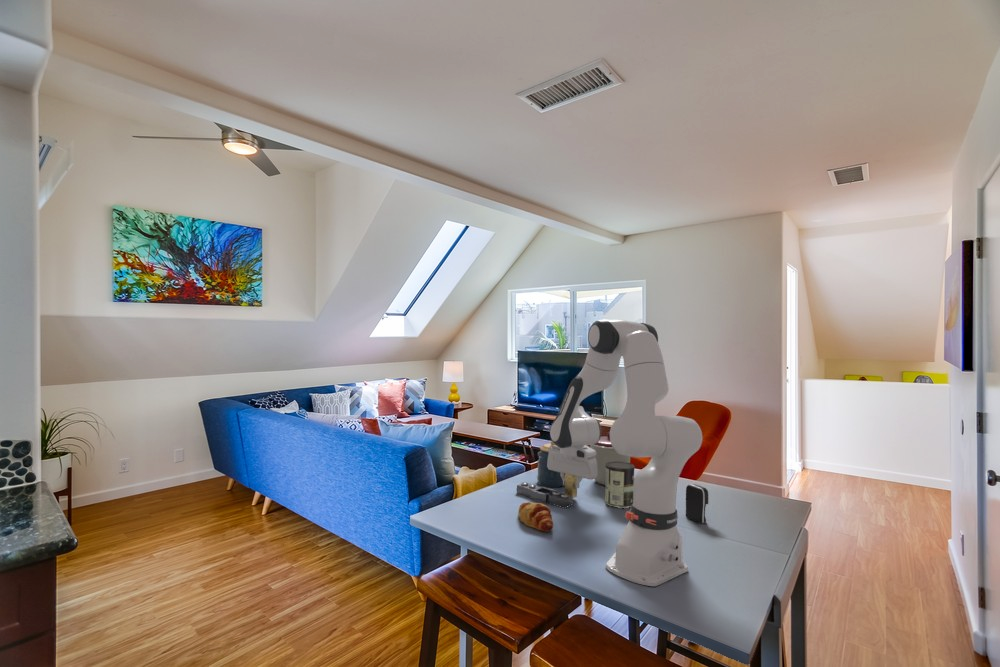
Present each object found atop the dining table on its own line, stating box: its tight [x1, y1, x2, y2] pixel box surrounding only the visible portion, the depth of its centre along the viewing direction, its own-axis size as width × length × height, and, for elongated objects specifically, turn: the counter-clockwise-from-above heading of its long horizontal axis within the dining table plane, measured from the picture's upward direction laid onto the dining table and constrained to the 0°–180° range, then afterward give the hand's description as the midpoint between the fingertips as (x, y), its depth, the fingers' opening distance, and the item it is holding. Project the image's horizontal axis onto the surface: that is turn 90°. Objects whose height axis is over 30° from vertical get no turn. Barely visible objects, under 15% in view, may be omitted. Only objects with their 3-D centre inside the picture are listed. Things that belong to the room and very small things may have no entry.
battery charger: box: [685, 483, 709, 524], centre depth 159 cm, size 7×4×11 cm, turn 26°
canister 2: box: [589, 431, 631, 486], centre depth 198 cm, size 18×18×21 cm
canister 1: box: [536, 440, 565, 488], centre depth 195 cm, size 13×13×18 cm
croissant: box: [517, 501, 554, 533], centre depth 154 cm, size 21×10×8 cm, turn 22°
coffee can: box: [604, 461, 636, 509], centre depth 173 cm, size 10×10×14 cm
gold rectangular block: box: [564, 474, 578, 499], centre depth 176 cm, size 3×3×9 cm
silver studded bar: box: [516, 481, 574, 509], centre depth 176 cm, size 7×22×4 cm, turn 48°
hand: (571, 486), depth 176 cm, fingers closed on gold rectangular block, 3 cm apart
